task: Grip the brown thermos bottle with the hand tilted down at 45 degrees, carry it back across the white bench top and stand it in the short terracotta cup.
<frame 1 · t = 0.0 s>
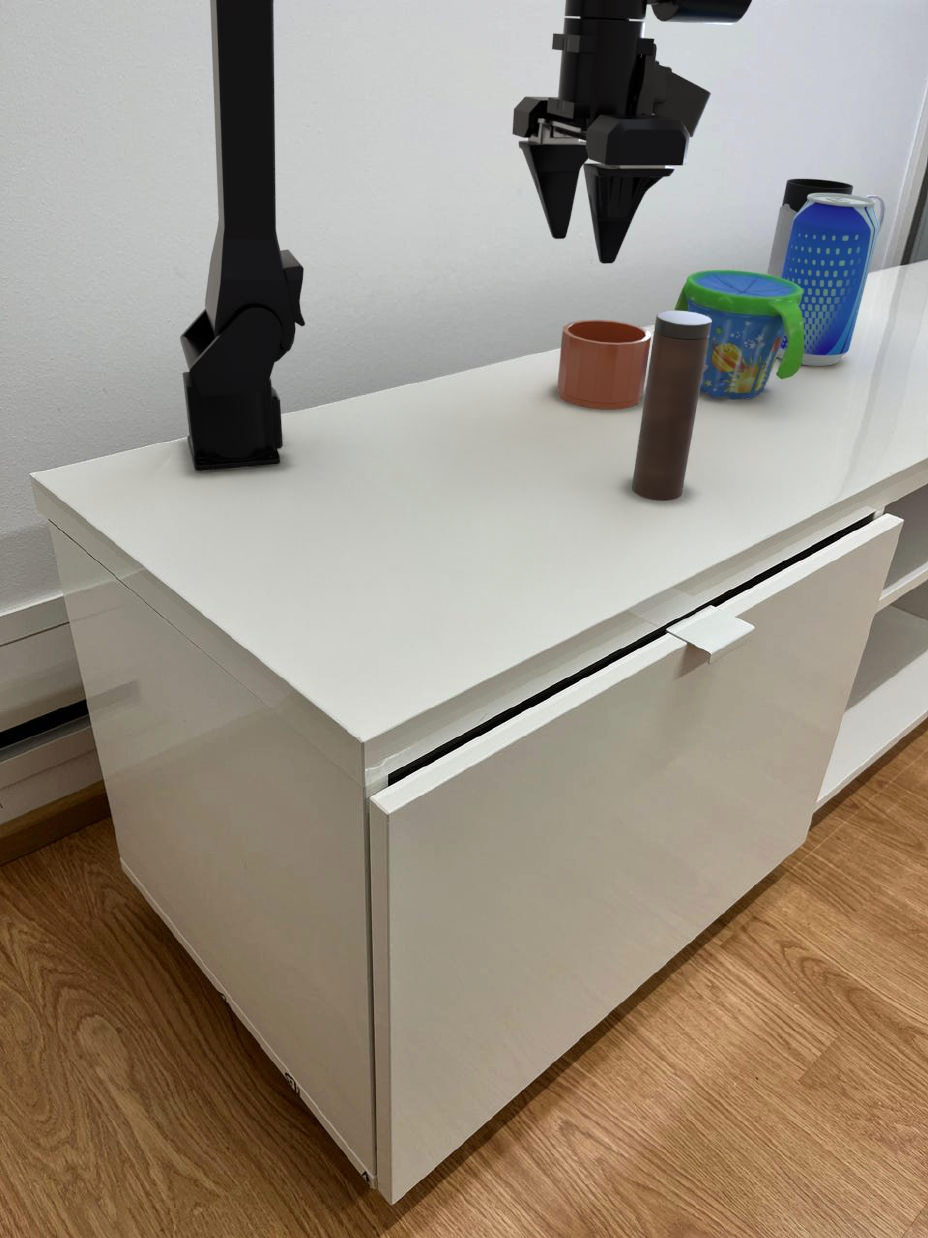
hand: (581, 250, 78), 15 cm above the tv stand, tool pointing down, fingers open, 9 cm apart
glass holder: (810, 314, 123), on the tv stand
brown thermos bottle: (656, 489, 75), on the tv stand
snack cup: (723, 391, 96), on the tv stand
terracotta cup: (599, 394, 93), on the tv stand
beer can: (805, 358, 107), on the tv stand
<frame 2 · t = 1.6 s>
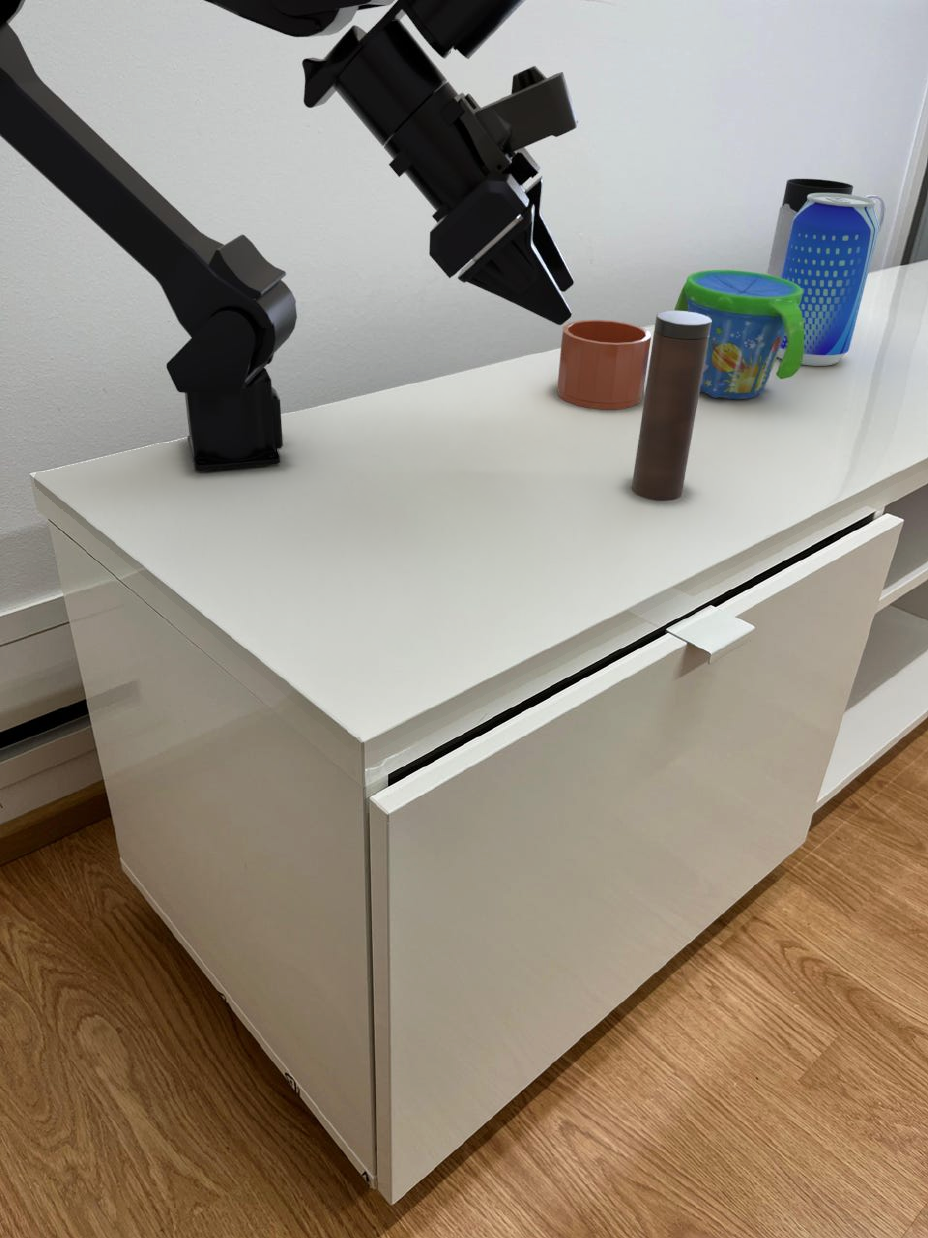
hand: (568, 302, 68), 13 cm above the tv stand, tool tilted 45°, fingers open, 9 cm apart
nothing on the tv stand moved.
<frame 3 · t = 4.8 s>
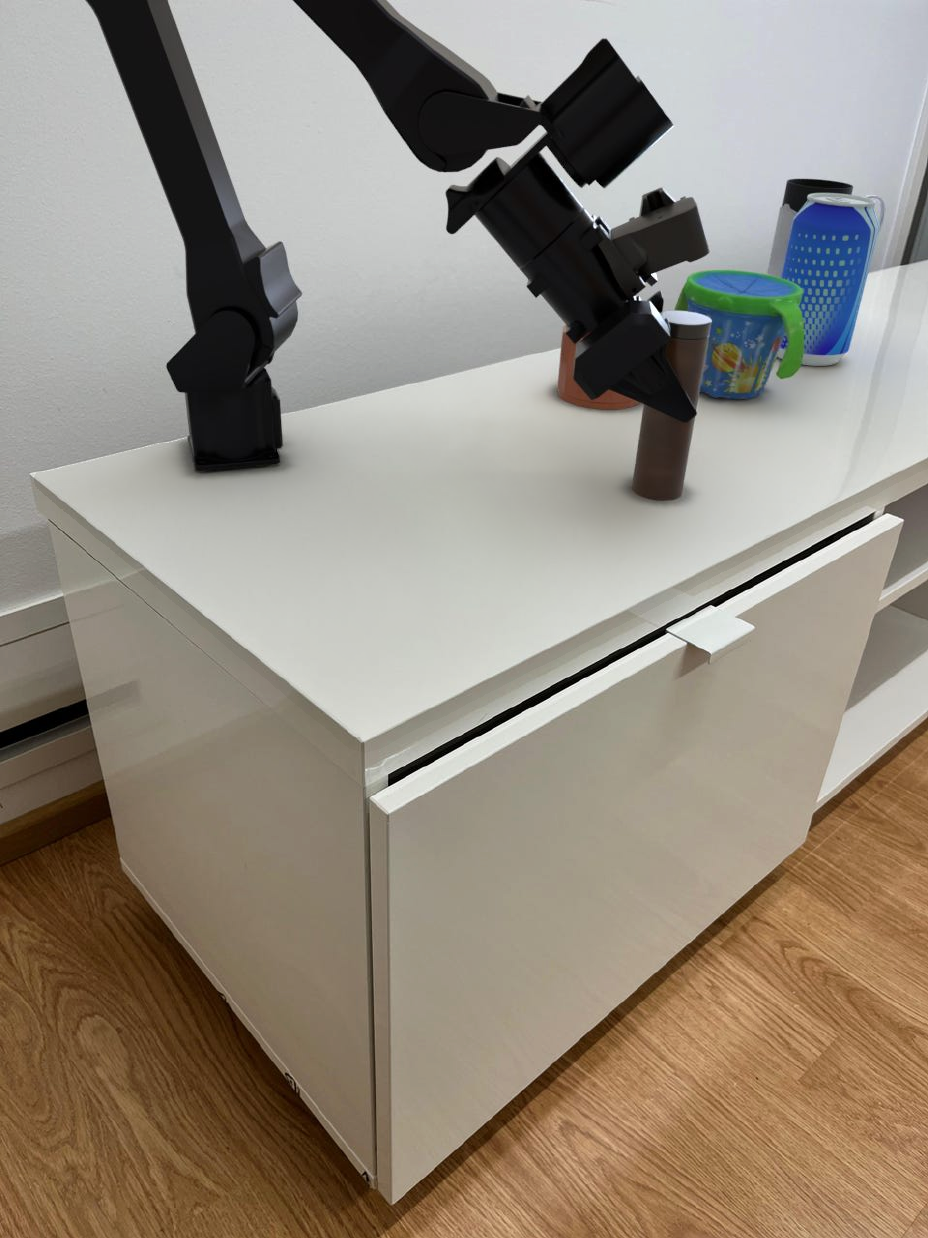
hand: (689, 408, 71), 7 cm above the tv stand, tool tilted 45°, fingers closed on brown thermos bottle, 4 cm apart
brown thermos bottle: (656, 489, 75), on the tv stand, touching gripper
everything else where it was.
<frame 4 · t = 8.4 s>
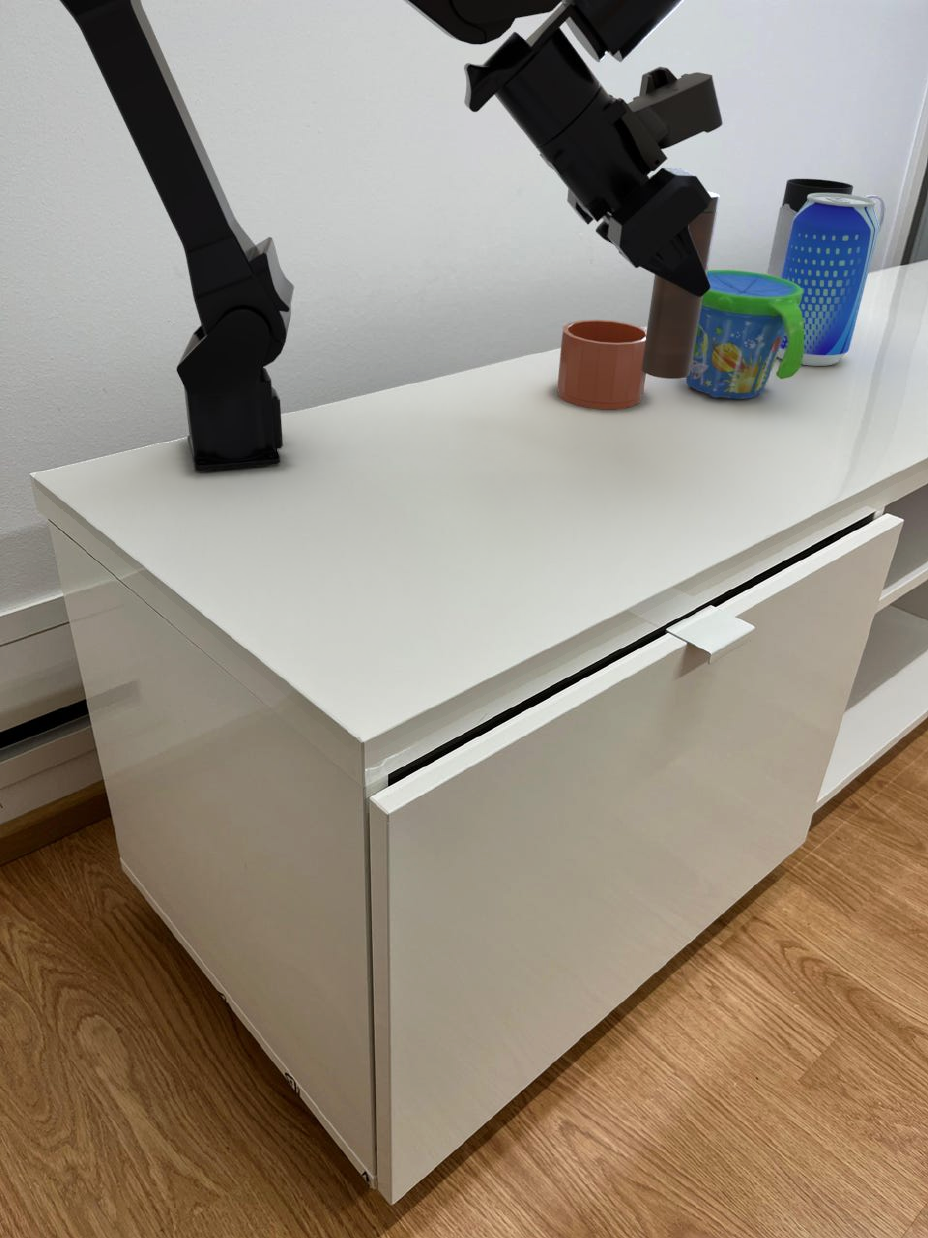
hand: (696, 285, 74), 14 cm above the tv stand, tool tilted 45°, fingers closed on brown thermos bottle, 4 cm apart
brown thermos bottle: (665, 371, 77), point 7 cm above the tv stand, touching gripper
everything else where it was.
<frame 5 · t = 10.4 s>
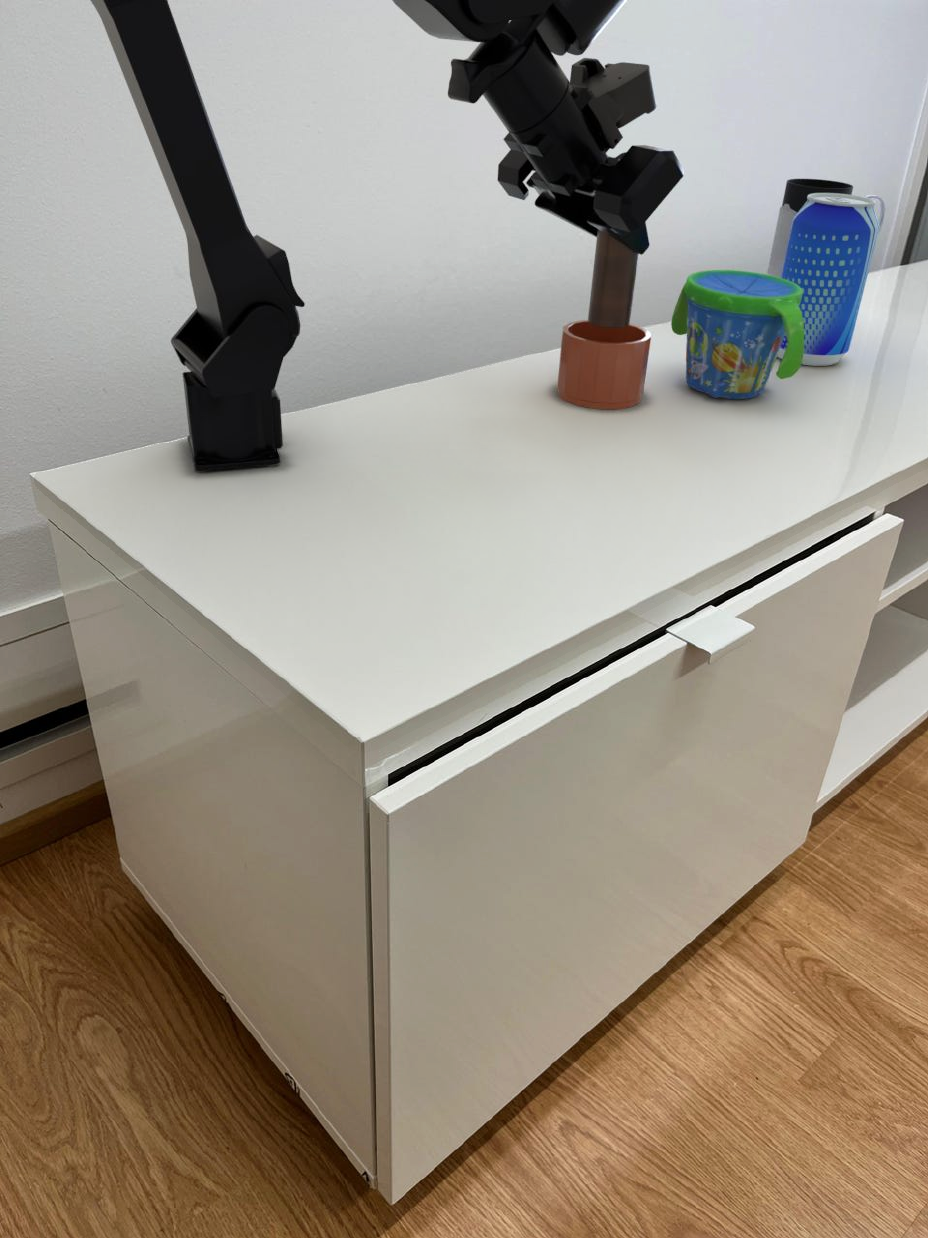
hand: (630, 245, 86), 13 cm above the tv stand, tool tilted 45°, fingers closed on brown thermos bottle, 4 cm apart
brown thermos bottle: (608, 322, 89), point 7 cm above the tv stand, touching gripper
everything else where it was.
when the fingers open (9 cm above the tv stand, at t = 12.1 s): brown thermos bottle drops 2 cm, resting on terracotta cup.
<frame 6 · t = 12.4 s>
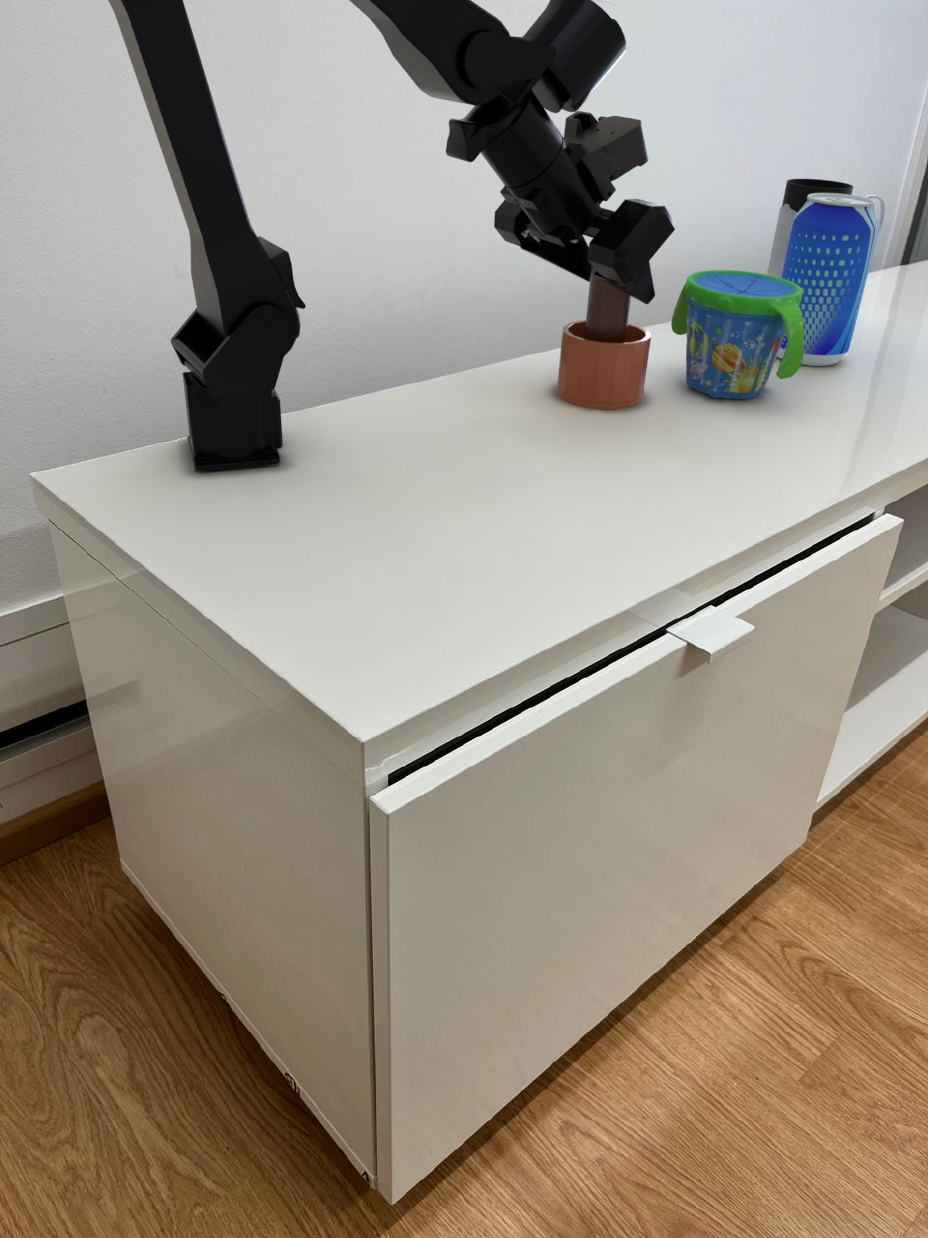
hand: (623, 289, 88), 10 cm above the tv stand, tool tilted 45°, fingers open, 7 cm apart
brown thermos bottle: (599, 388, 92), point 1 cm above the tv stand, touching terracotta cup
everything else where it was.
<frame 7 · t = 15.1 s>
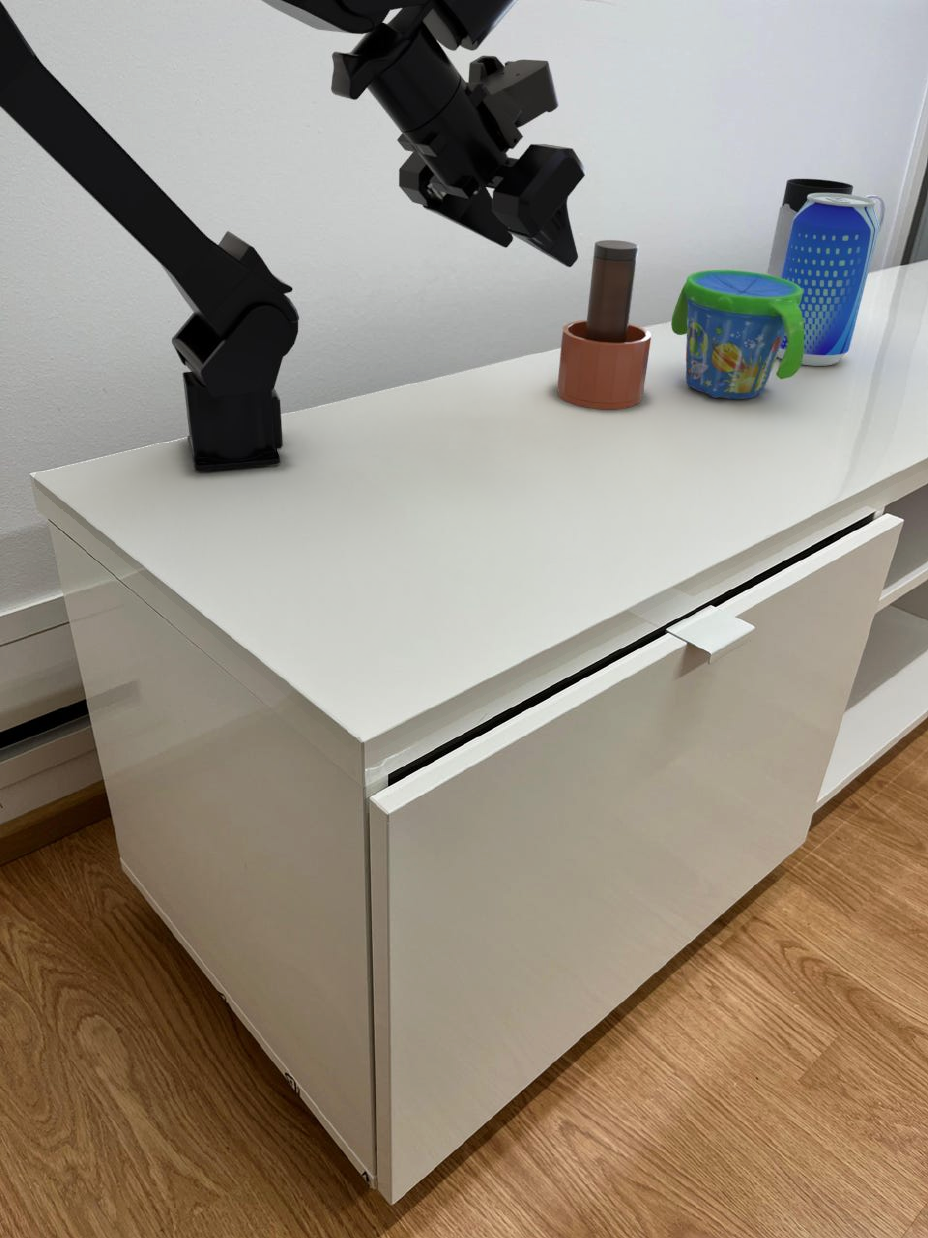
hand: (540, 252, 82), 13 cm above the tv stand, tool tilted 45°, fingers open, 9 cm apart
nothing on the tv stand moved.
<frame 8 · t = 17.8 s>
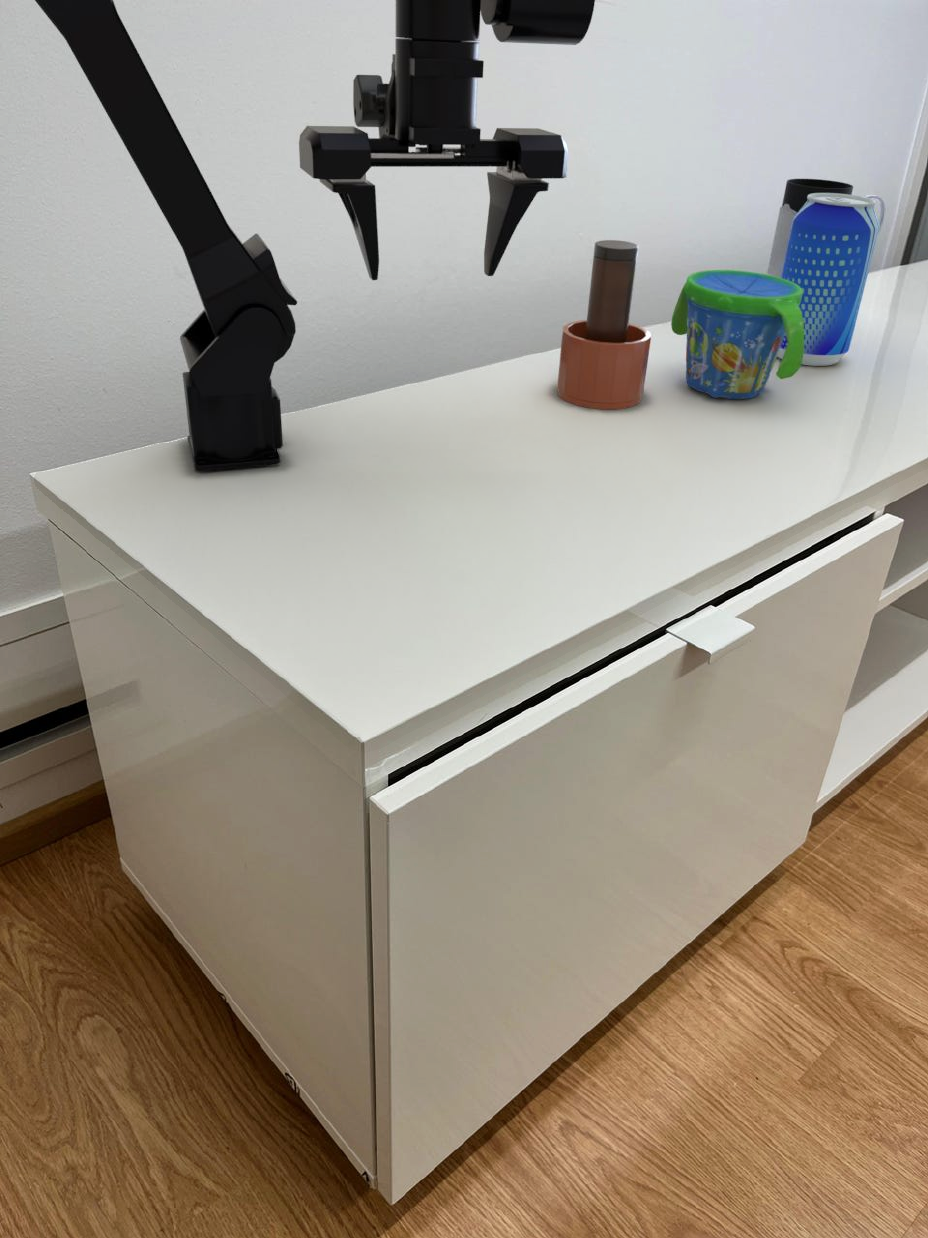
hand: (432, 276, 75), 13 cm above the tv stand, tool pointing down, fingers open, 9 cm apart
nothing on the tv stand moved.
at the end: brown thermos bottle 0.0 cm off-centre in the terracotta cup, point 0.6 cm above the terracotta cup's base; the gripper is holding nothing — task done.
